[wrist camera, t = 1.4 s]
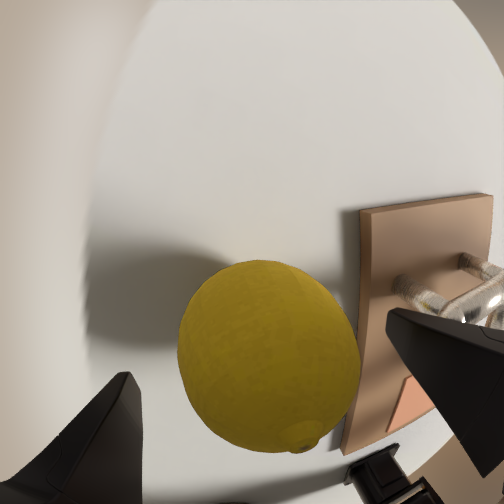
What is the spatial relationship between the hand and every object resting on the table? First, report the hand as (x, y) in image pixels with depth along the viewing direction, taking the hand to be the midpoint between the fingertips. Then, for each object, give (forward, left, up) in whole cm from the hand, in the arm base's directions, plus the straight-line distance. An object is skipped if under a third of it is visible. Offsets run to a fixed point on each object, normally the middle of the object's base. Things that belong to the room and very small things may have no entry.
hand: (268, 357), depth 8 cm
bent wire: (-4, -11, -4) cm, 12 cm away
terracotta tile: (-13, -14, -4) cm, 19 cm away
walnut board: (-7, -12, -4) cm, 15 cm away
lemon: (0, 0, -5) cm, 5 cm away
